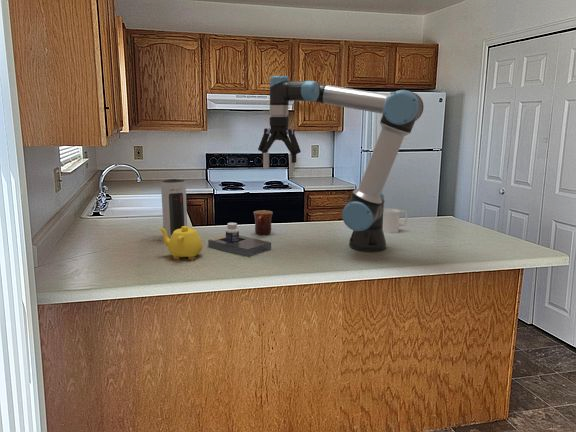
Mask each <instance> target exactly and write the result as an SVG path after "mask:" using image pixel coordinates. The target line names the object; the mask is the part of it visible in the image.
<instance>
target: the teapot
mask: <svg viewBox="0 0 576 432" xmlns="http://www.w3.org/2000/svg"><path fill="white" fill-rule="evenodd" d="M158 229H159V230H160V231H161V232H162V237H163V238H162V240H163V243H164V245H165V246H166V247H167V248H168V249H167V250H168V252H169V254H170V255H171V256H172V257H173V258H172V259H173V260H180V258H188V260H189V261H190V260H191V261H193V260H195V256H198V255H199V254H200V253H201V252H202V250H203V242H202V238H201V236H200V234H199V231H197V229H195V228H193V227H192V226H188V225H187V226H182V227H181V229H177V230H175V231H174V232H173V234H172V236H171V238H170V239H169V238H168V236H167V232H166V230H165V229H164V228H163V227H160V226H158Z"/></svg>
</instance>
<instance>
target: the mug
mask: <svg viewBox="0 0 576 432" xmlns="http://www.w3.org/2000/svg"><path fill="white" fill-rule="evenodd" d="M273 214H274V213H273V211H271V210H265V209H263V210H255V211H253V215H254V220H255V221H254V232H255V234H256V235H257V236H261V235H265V236H269V235H270V234H271V233H272V216H273Z"/></svg>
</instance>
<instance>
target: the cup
mask: <svg viewBox="0 0 576 432" xmlns="http://www.w3.org/2000/svg"><path fill="white" fill-rule="evenodd" d="M401 213H404V214H405V215H404V216H405V220H404V223H400V214H401ZM407 222H408V211H406V210H403V209H402V210H400V209H397V208H384V212H383V233H389V234H396V233H398V232H399V231H400V230H399V229H400V228H399V227H405V226H406V225H407Z"/></svg>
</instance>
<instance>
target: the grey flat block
mask: <svg viewBox="0 0 576 432" xmlns="http://www.w3.org/2000/svg"><path fill="white" fill-rule="evenodd" d="M207 241H208V242H207V243H208V245H207V246H208V248H210V249H215V250H218V251H223V252H227V253H230V254H235V255H239V256H243V257H246V258H248V257H251V256H255V255H258V254H261V253H264V252H267V251H271V250H272V242H271V241H267V240H263V239H257V238H253V237H248V236H245V235H240V234H239V241H238V242H235V243H230V242H226V235H223V236H218V237H215V238H210V239H207Z"/></svg>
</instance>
